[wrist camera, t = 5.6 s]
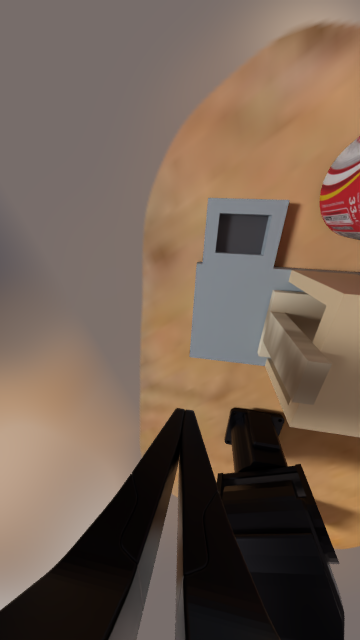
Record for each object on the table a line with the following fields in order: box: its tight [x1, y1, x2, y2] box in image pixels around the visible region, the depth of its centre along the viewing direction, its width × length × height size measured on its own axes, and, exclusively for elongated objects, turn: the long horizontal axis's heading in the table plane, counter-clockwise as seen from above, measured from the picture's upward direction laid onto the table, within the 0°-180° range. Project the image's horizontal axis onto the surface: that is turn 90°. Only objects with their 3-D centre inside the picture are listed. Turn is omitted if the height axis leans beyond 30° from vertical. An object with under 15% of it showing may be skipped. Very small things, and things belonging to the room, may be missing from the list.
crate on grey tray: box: [190, 198, 360, 437], centre depth 14 cm, size 15×20×8 cm
